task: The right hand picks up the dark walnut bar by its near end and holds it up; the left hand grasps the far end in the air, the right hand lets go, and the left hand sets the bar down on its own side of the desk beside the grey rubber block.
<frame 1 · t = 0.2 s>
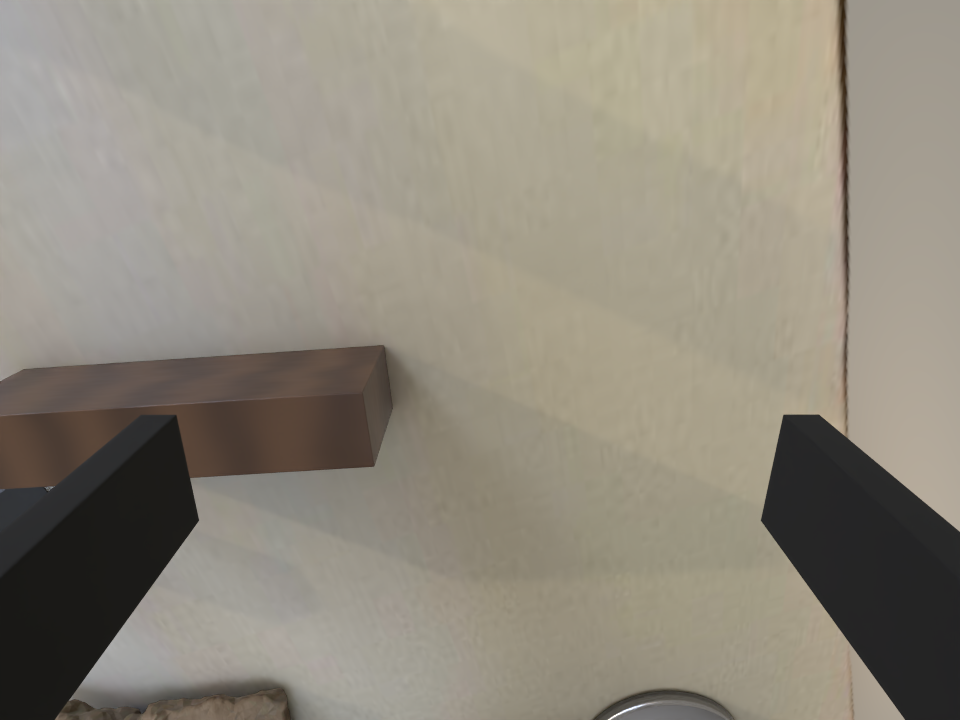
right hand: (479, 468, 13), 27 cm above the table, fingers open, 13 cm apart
bar: (210, 389, 42), on the table
block: (25, 506, 46), on the table
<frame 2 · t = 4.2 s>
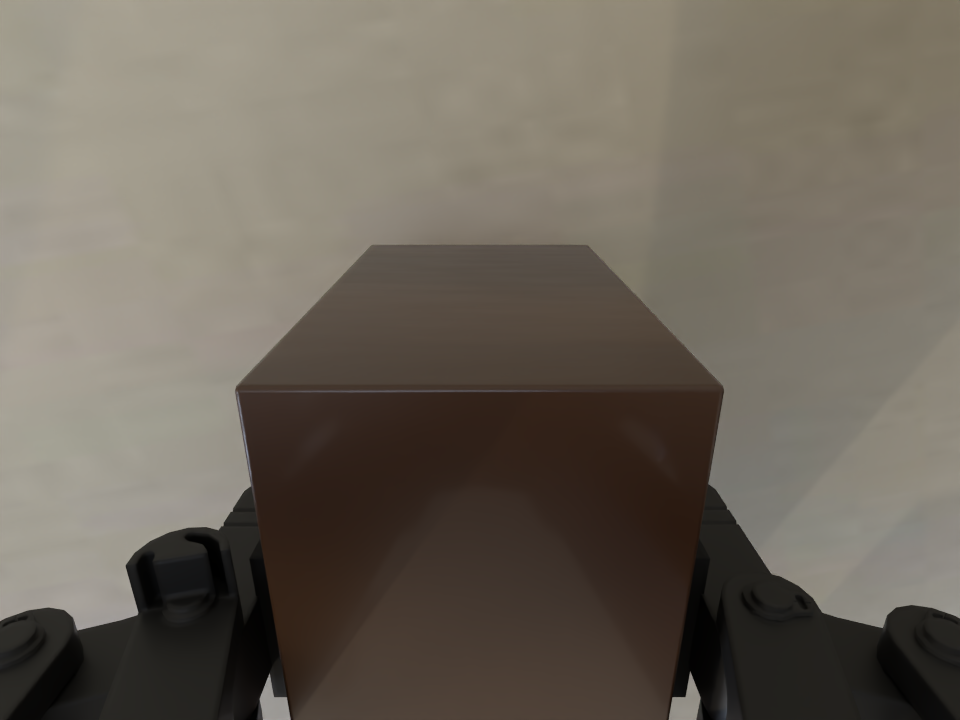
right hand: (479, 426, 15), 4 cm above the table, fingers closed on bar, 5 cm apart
bar: (479, 663, 18), point 4 cm above the table, touching right hand
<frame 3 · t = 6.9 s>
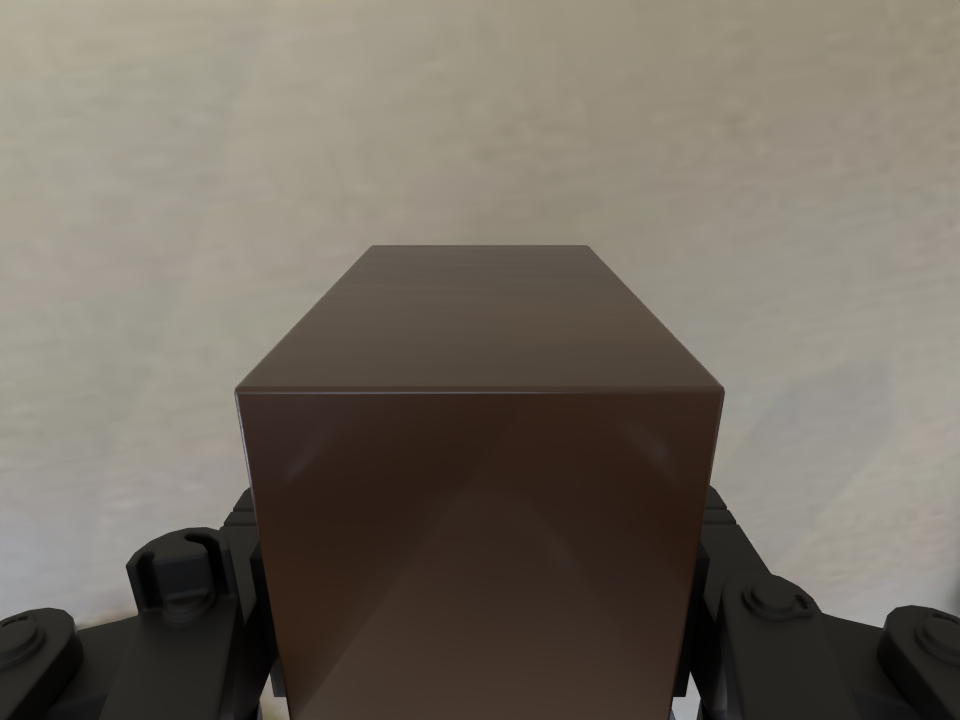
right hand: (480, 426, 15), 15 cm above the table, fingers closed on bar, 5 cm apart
bar: (479, 664, 18), point 14 cm above the table, touching right hand
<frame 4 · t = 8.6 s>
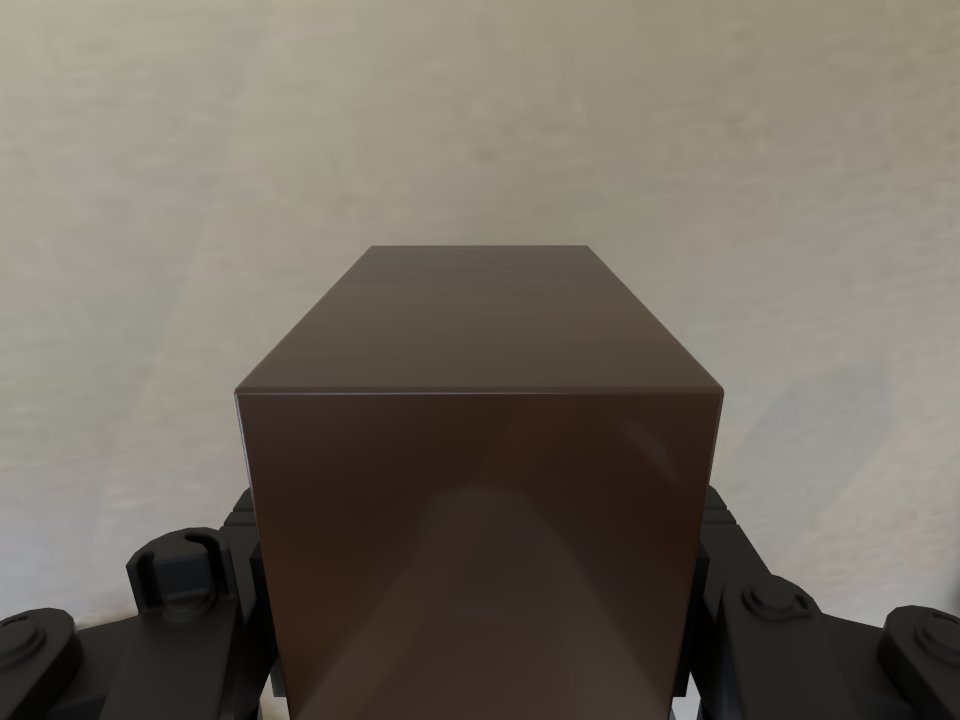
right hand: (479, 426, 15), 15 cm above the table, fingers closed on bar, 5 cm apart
bar: (480, 664, 18), point 14 cm above the table, touching right hand, left hand
when the right hand's fingers open (15 cm above the table, at t = 9.6 s): bar stays where it is, held by the left hand.
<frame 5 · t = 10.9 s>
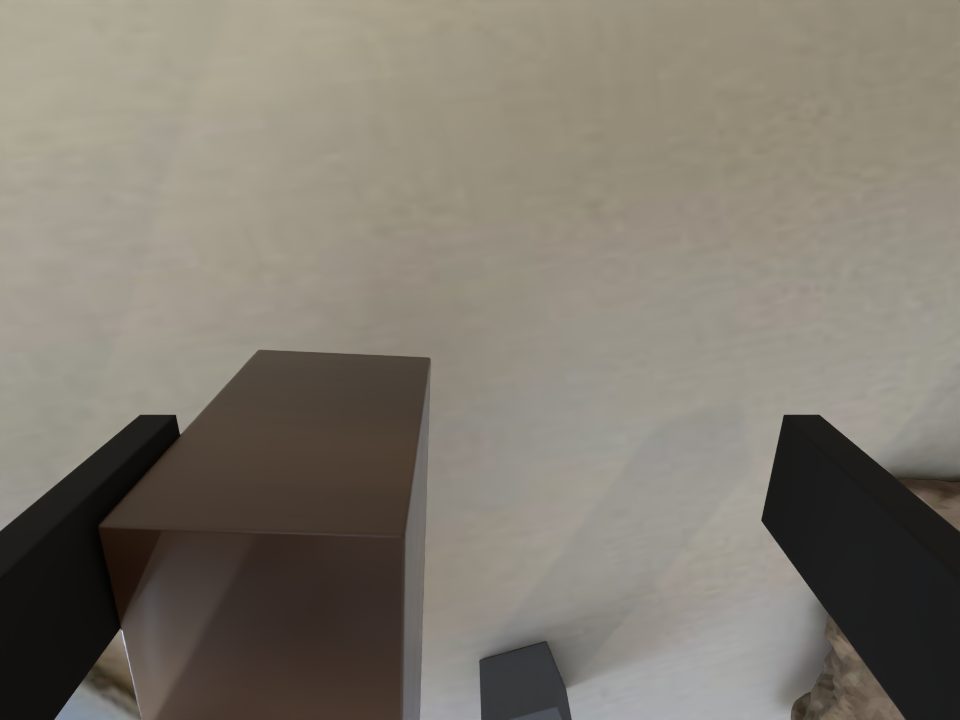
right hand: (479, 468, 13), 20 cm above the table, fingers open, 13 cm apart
bar: (354, 675, 22), point 15 cm above the table, touching right hand, left hand
stone: (902, 595, 40), on the table
block: (523, 675, 42), on the table
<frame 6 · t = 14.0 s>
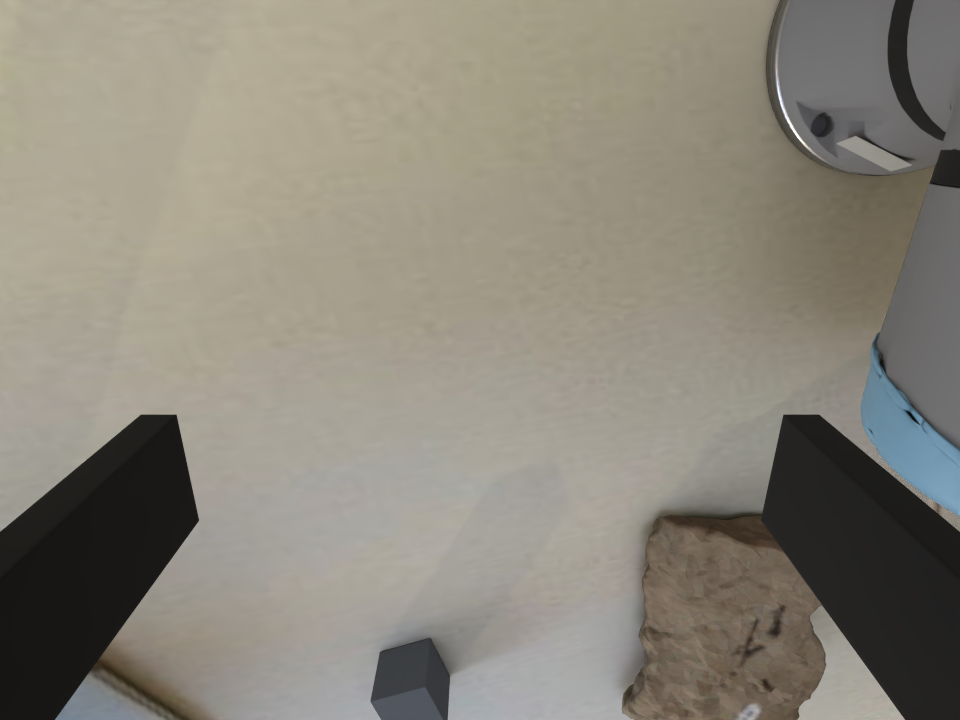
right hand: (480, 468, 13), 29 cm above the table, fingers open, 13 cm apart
stone: (706, 605, 51), on the table
block: (415, 664, 54), on the table
when the left hand's fingers open (5 cm above the table, at t = 19.4 s): bar stays where it is, on the table.
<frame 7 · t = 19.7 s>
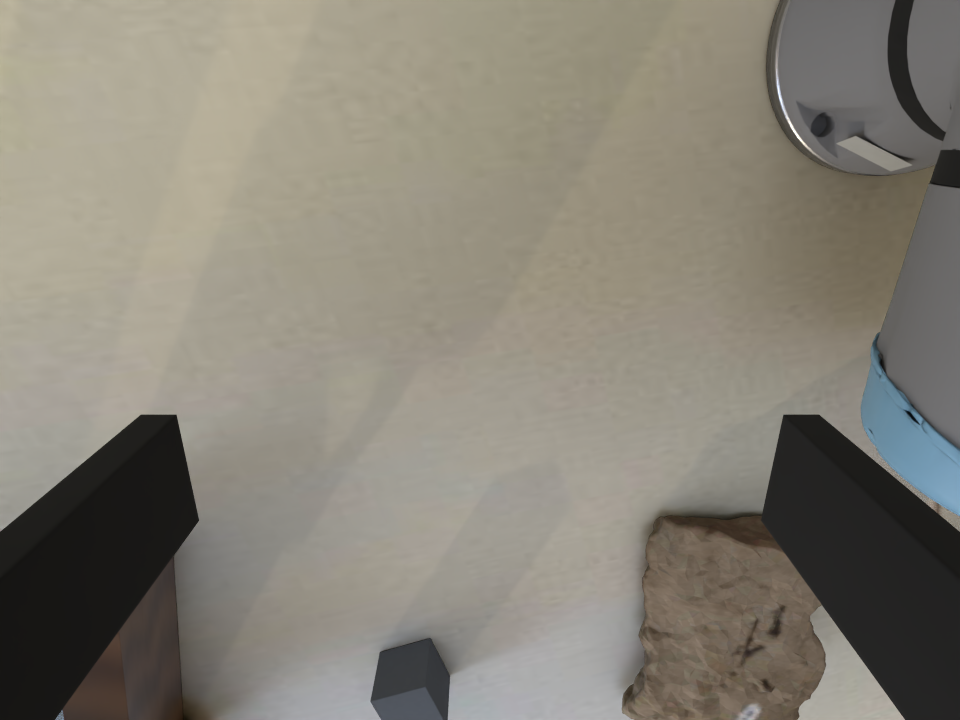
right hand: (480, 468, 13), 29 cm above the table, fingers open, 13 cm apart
bar: (150, 633, 52), on the table
stone: (706, 605, 51), on the table
block: (415, 664, 54), on the table
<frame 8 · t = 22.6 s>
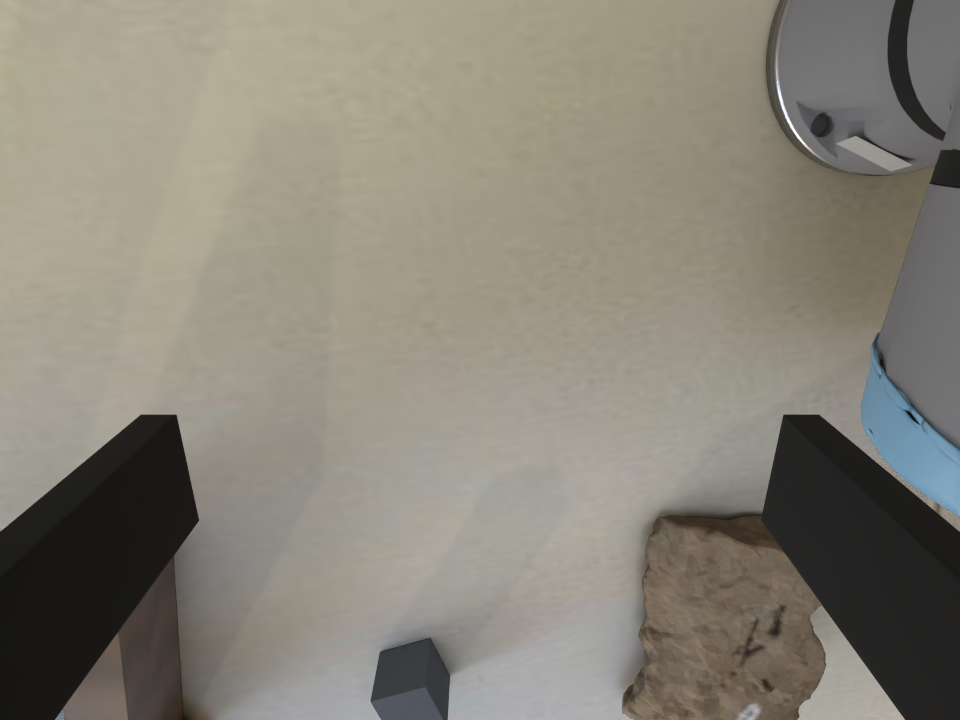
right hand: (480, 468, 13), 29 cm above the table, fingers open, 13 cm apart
bar: (150, 633, 52), on the table
stone: (706, 605, 51), on the table
block: (415, 664, 54), on the table
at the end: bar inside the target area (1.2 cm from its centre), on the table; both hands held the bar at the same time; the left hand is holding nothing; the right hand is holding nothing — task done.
